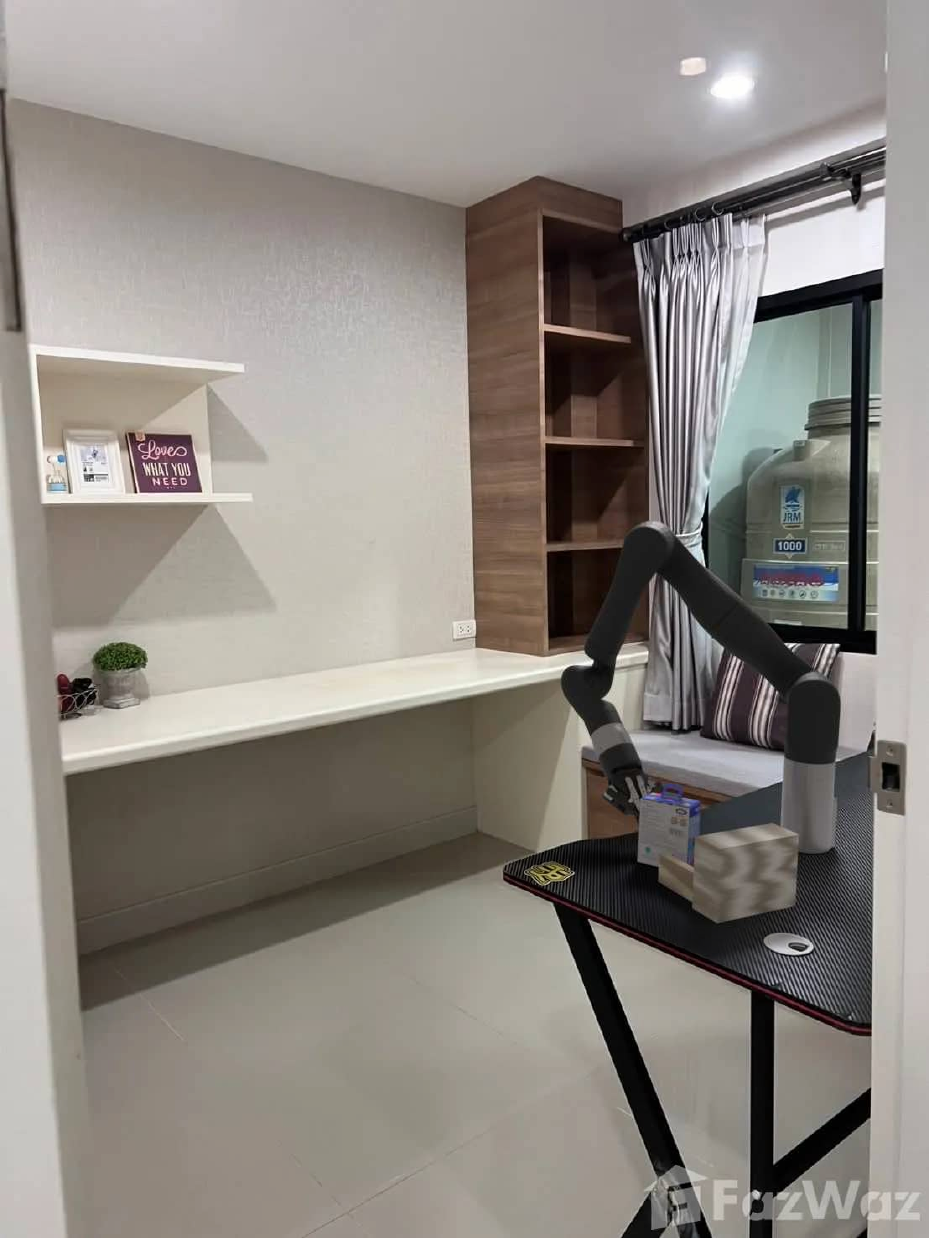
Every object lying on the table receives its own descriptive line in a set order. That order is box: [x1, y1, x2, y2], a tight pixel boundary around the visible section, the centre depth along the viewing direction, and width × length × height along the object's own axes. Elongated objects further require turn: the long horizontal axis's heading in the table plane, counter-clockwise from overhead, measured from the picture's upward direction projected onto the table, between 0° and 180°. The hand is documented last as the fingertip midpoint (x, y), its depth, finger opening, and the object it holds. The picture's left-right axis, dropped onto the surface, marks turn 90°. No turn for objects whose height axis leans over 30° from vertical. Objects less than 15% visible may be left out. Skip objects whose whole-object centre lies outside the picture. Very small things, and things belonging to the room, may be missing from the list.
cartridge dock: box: [658, 822, 799, 924], centre depth 154 cm, size 16×17×12 cm
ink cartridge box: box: [636, 782, 702, 868], centre depth 167 cm, size 10×6×14 cm, turn 54°
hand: (650, 831), depth 172 cm, fingers closed
